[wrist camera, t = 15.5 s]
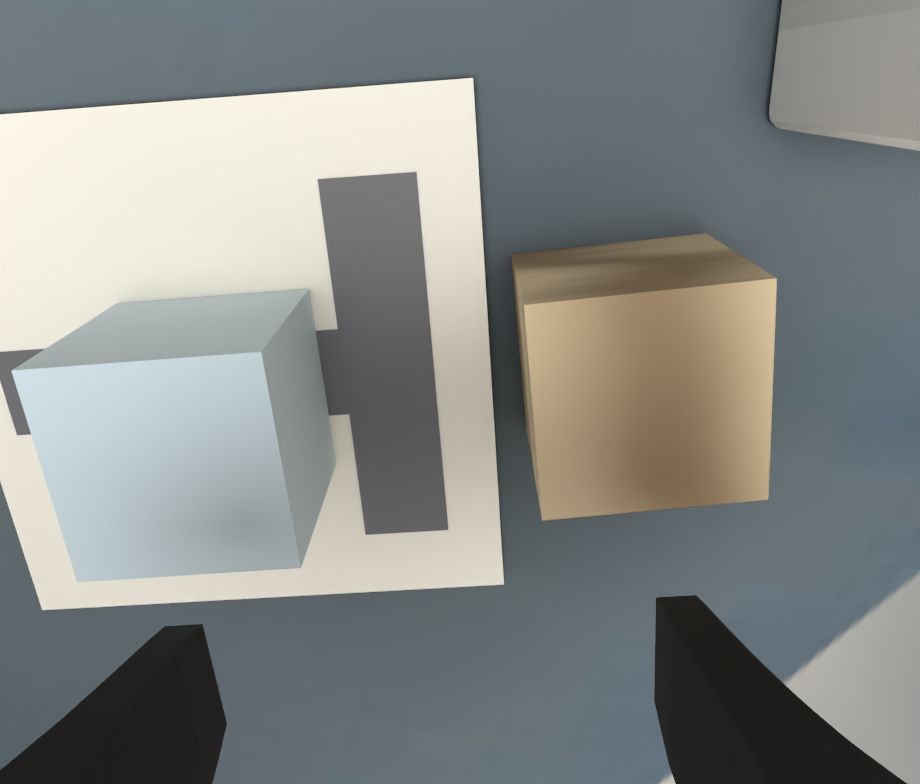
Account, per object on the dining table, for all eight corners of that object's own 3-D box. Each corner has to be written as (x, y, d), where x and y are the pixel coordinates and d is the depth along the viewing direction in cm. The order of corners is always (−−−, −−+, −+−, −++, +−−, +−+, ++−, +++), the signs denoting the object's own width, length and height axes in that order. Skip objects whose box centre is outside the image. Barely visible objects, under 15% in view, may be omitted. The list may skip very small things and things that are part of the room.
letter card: (52, 597, 24) (41, 610, 24) (-100, 122, 19) (-118, 123, 18) (503, 572, 24) (504, 585, 23) (472, 78, 19) (473, 77, 18)
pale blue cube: (159, 476, 22) (77, 582, 17) (116, 303, 20) (11, 370, 15) (336, 463, 22) (301, 568, 17) (309, 288, 20) (261, 352, 15)
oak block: (526, 428, 22) (542, 520, 18) (510, 253, 20) (523, 305, 16) (704, 410, 22) (768, 499, 17) (705, 232, 20) (776, 278, 15)
